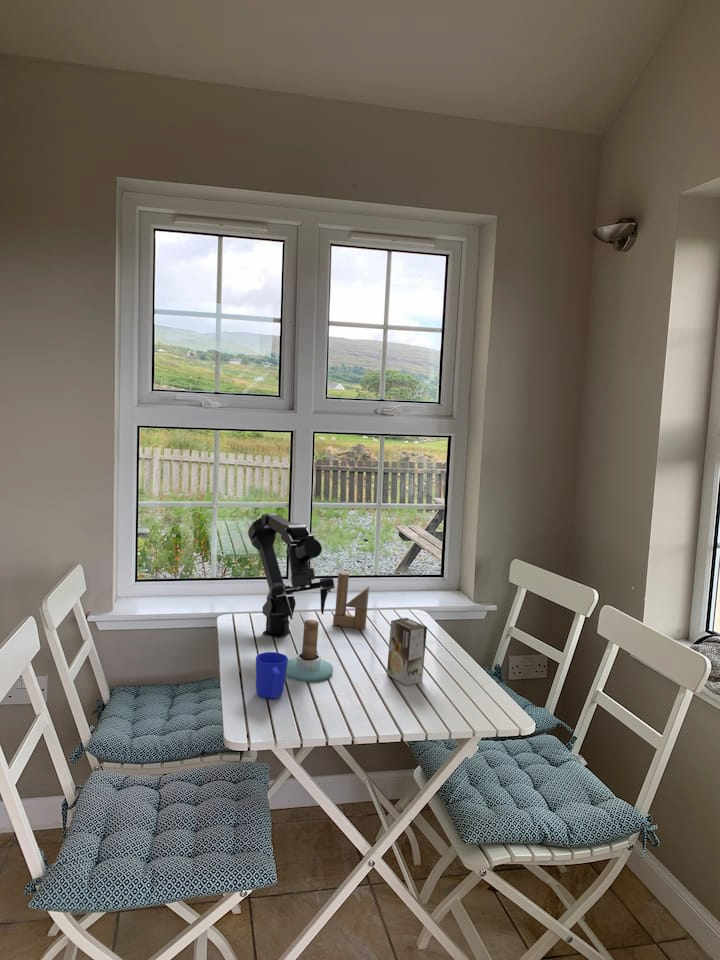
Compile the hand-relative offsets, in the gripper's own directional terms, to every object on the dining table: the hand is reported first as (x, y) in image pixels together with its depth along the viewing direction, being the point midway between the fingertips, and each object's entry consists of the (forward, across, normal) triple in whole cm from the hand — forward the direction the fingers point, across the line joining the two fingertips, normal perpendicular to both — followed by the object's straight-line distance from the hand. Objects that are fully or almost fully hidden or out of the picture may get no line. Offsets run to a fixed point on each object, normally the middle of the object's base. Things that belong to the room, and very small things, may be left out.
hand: (307, 616), depth 221 cm
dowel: (+14, -1, -8) cm, 16 cm away
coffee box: (+22, +25, -5) cm, 34 cm away
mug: (+21, -11, -25) cm, 35 cm away
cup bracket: (+16, -2, -7) cm, 17 cm away
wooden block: (+2, +12, +33) cm, 35 cm away
